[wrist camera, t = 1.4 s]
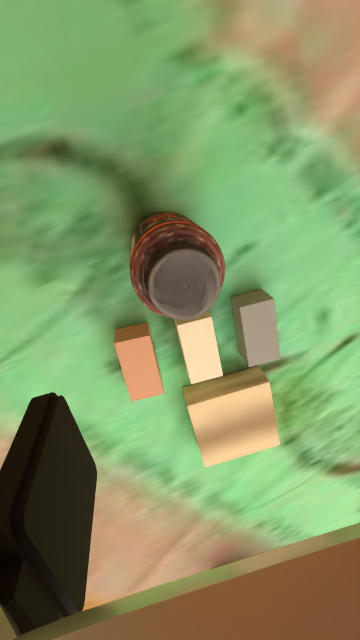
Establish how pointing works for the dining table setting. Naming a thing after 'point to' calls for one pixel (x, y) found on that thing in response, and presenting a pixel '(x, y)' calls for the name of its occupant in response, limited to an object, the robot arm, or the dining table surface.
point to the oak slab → (232, 415)
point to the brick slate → (256, 327)
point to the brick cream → (199, 348)
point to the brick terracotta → (138, 361)
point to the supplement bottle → (175, 266)
